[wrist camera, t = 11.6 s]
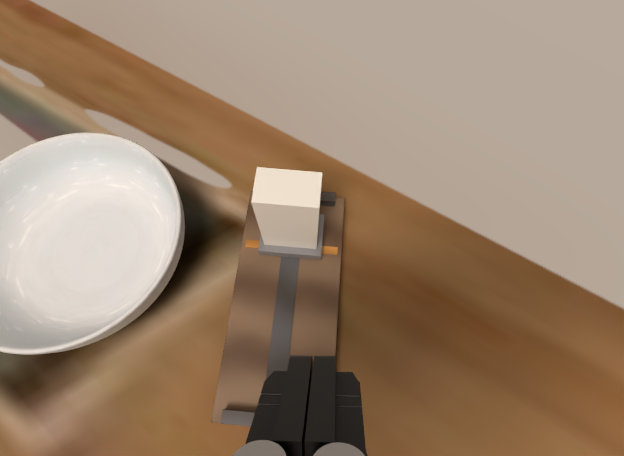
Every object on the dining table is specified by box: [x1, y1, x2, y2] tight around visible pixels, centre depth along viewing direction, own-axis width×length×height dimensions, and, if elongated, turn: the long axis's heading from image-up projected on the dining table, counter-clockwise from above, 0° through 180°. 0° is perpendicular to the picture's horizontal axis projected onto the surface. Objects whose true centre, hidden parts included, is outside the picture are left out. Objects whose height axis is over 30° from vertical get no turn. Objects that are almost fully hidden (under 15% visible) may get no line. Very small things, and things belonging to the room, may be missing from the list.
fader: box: [251, 167, 324, 260], centre depth 32 cm, size 4×6×10 cm
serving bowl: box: [0, 133, 185, 354], centre depth 35 cm, size 21×21×7 cm
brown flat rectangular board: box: [211, 190, 344, 426], centre depth 35 cm, size 22×10×3 cm, turn 175°
